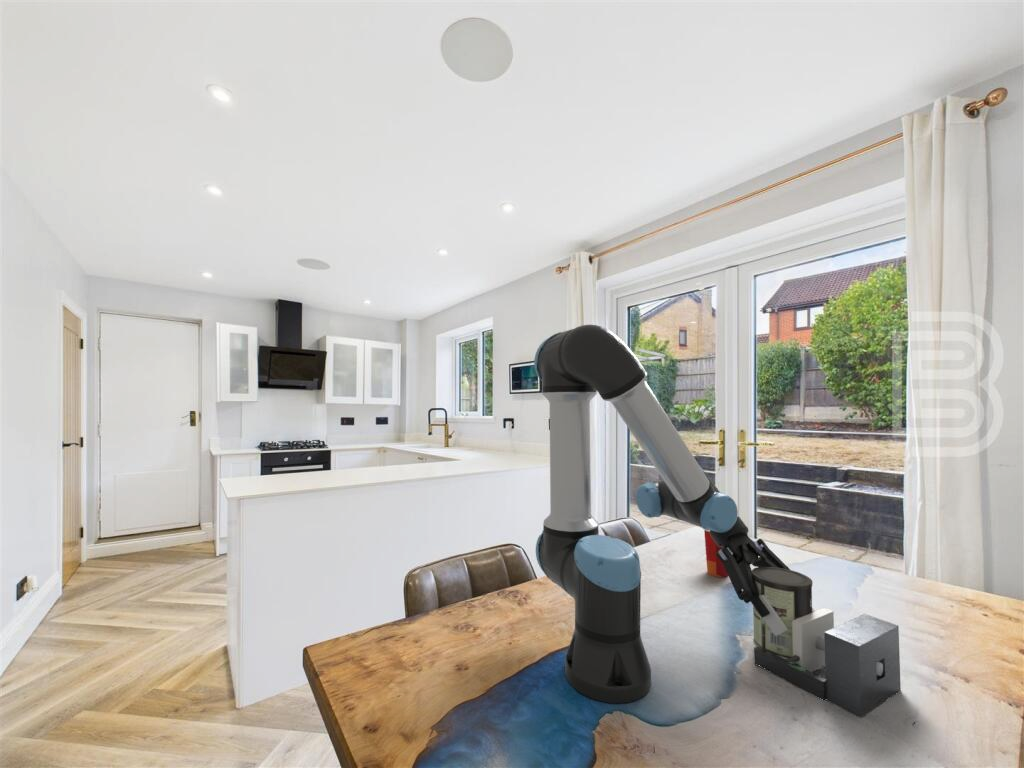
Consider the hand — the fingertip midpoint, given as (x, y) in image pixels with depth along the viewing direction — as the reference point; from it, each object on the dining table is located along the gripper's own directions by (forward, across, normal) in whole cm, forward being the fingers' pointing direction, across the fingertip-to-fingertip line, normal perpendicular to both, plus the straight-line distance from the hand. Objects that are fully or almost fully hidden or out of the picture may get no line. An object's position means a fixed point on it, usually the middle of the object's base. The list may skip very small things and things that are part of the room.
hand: (797, 626), depth 85 cm
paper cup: (-21, -27, -31) cm, 46 cm away
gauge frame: (+9, 0, -1) cm, 9 cm away
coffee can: (+2, 0, -6) cm, 6 cm away
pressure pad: (+10, +2, +1) cm, 10 cm away
